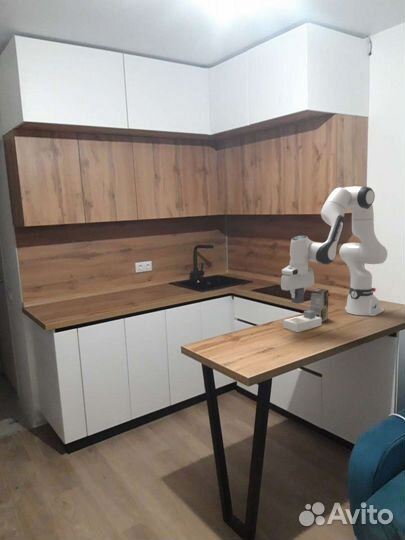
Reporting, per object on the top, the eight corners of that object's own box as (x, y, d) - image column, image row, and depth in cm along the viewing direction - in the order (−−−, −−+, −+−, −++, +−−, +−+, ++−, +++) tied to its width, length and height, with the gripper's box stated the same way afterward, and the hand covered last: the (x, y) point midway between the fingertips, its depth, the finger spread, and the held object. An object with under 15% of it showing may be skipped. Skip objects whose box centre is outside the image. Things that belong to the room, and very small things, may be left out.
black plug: (297, 301, 205) (297, 287, 203) (303, 302, 201) (303, 288, 200) (291, 302, 202) (292, 288, 201) (297, 303, 199) (298, 289, 198)
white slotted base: (307, 321, 215) (307, 308, 214) (321, 325, 208) (321, 312, 207) (283, 327, 205) (283, 314, 204) (296, 332, 198) (297, 318, 196)
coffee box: (316, 316, 223) (317, 287, 221) (327, 319, 219) (329, 289, 217) (309, 320, 216) (310, 290, 214) (320, 322, 212) (322, 292, 210)
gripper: (307, 266, 208) (306, 293, 210) (279, 270, 196) (278, 298, 198) (317, 268, 203) (316, 295, 205) (288, 272, 191) (288, 301, 193)
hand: (297, 297), depth 201 cm, fingers closed on black plug, 4 cm apart
